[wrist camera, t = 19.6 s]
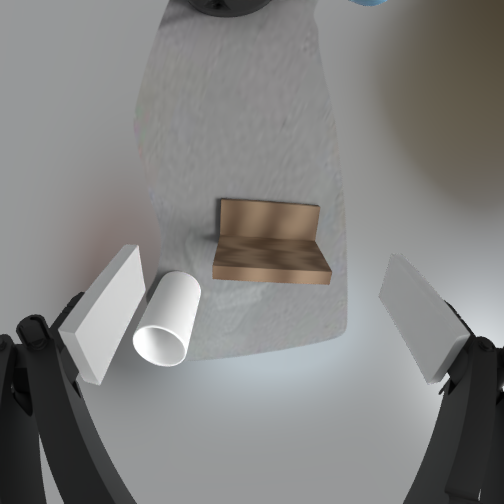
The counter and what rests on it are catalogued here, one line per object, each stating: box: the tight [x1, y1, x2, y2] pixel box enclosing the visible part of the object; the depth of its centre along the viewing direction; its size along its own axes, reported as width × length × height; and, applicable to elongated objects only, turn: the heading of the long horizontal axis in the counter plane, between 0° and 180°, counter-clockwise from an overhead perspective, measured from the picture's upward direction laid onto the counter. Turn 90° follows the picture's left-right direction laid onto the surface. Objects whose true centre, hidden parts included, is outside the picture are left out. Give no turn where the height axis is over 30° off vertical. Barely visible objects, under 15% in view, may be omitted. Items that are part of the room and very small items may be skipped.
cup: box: [133, 271, 201, 366], centre depth 44 cm, size 8×8×16 cm
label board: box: [213, 198, 332, 285], centre depth 41 cm, size 16×8×12 cm, turn 86°
